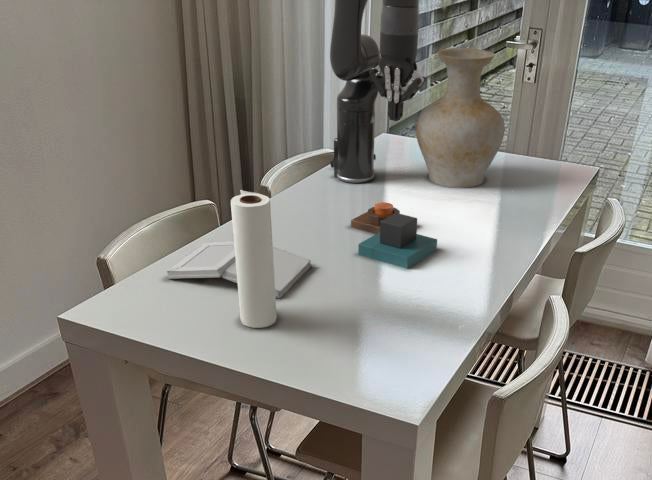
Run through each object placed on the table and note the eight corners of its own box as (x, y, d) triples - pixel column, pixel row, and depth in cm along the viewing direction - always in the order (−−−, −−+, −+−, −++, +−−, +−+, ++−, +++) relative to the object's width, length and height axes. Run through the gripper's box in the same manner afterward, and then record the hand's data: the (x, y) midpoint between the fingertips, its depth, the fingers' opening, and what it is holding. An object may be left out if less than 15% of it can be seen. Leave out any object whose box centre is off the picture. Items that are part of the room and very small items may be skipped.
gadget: (311, 266, 150) (311, 248, 148) (280, 299, 138) (279, 280, 136) (206, 249, 155) (204, 232, 153) (166, 279, 143) (164, 261, 141)
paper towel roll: (270, 330, 128) (263, 206, 116) (235, 327, 129) (224, 203, 117) (282, 311, 134) (277, 191, 122) (249, 307, 135) (240, 188, 123)
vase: (418, 163, 207) (424, 43, 191) (499, 168, 205) (512, 47, 189) (409, 189, 189) (414, 59, 173) (498, 195, 187) (512, 64, 171)
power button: (370, 213, 166) (371, 206, 165) (380, 208, 169) (381, 201, 168) (386, 217, 164) (386, 210, 163) (396, 212, 167) (396, 204, 166)
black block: (379, 254, 155) (380, 221, 152) (395, 245, 160) (396, 212, 156) (400, 260, 153) (401, 227, 149) (415, 250, 158) (417, 218, 154)
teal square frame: (358, 255, 155) (358, 243, 154) (389, 237, 163) (389, 226, 162) (407, 269, 150) (407, 257, 148) (436, 250, 158) (437, 239, 157)
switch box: (350, 227, 167) (350, 212, 165) (373, 215, 174) (374, 200, 172) (393, 239, 162) (394, 223, 160) (415, 226, 169) (416, 211, 167)
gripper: (438, 32, 151) (431, 122, 161) (382, 23, 157) (379, 110, 167) (417, 37, 146) (411, 129, 155) (361, 27, 152) (358, 117, 161)
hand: (394, 119), depth 161 cm, fingers closed
